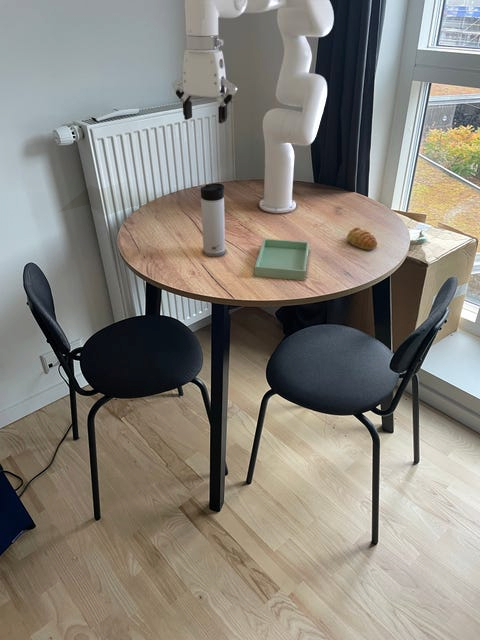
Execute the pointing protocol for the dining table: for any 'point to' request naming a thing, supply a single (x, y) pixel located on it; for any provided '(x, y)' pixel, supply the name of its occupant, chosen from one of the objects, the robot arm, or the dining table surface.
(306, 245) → the tray
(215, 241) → the travel mug
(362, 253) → the dining table surface
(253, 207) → the dining table surface
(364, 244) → the pastry
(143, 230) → the dining table surface
